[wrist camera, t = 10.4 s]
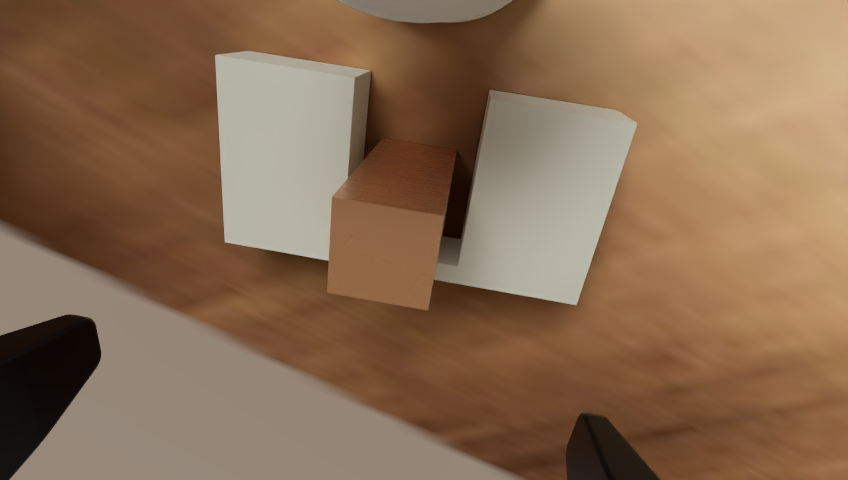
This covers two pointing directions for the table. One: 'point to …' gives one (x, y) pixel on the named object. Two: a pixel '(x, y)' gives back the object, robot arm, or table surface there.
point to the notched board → (490, 189)
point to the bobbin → (427, 9)
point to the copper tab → (391, 224)
